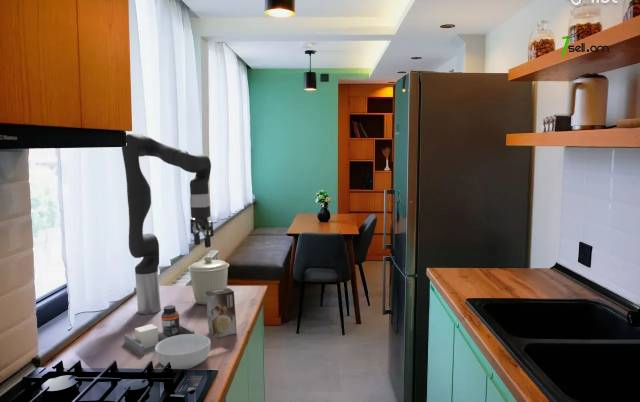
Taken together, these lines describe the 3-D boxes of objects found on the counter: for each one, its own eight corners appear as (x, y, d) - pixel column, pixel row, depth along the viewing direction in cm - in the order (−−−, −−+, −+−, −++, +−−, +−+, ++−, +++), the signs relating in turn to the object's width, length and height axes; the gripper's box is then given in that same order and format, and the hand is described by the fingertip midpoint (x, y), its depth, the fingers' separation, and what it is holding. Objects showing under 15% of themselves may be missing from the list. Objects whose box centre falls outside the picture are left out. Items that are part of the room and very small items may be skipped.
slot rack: (123, 347, 171) (122, 335, 170) (177, 332, 184) (176, 320, 183) (140, 360, 159) (139, 347, 159) (196, 342, 173) (195, 330, 172)
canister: (239, 299, 223) (237, 253, 221) (210, 310, 208) (207, 261, 206) (210, 293, 233) (208, 250, 231) (181, 304, 218) (178, 258, 216)
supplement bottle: (171, 333, 179) (169, 303, 178) (183, 335, 176) (182, 305, 175) (159, 339, 173) (157, 308, 172) (171, 341, 171) (169, 310, 170)
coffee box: (231, 328, 186) (229, 287, 184) (237, 333, 180) (234, 291, 179) (207, 333, 182) (205, 291, 180) (212, 338, 176) (210, 295, 175)
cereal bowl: (175, 382, 143) (173, 359, 143) (146, 367, 155) (144, 345, 154) (222, 362, 156) (221, 341, 155) (192, 349, 167) (191, 329, 166)
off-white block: (135, 345, 168) (134, 328, 168) (152, 340, 172) (151, 324, 172) (141, 349, 165) (140, 332, 164) (158, 344, 169) (157, 327, 168)
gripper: (183, 205, 195) (185, 245, 197) (200, 207, 185) (202, 249, 186) (200, 203, 200) (202, 242, 202) (217, 205, 190) (220, 246, 191)
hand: (202, 245), depth 194 cm, fingers open, 8 cm apart
